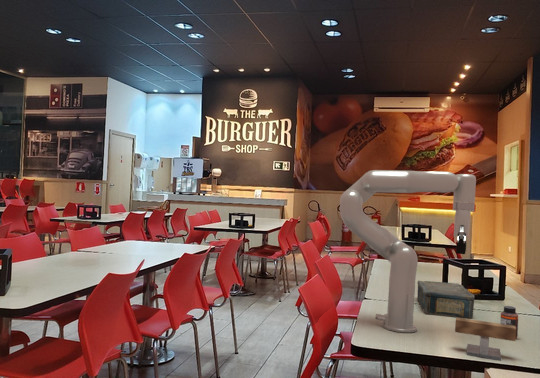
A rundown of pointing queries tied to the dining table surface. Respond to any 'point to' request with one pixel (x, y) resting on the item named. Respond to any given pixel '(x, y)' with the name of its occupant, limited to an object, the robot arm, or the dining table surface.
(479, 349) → the stand
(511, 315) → the supplement bottle
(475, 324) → the beam
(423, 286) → the metal box
